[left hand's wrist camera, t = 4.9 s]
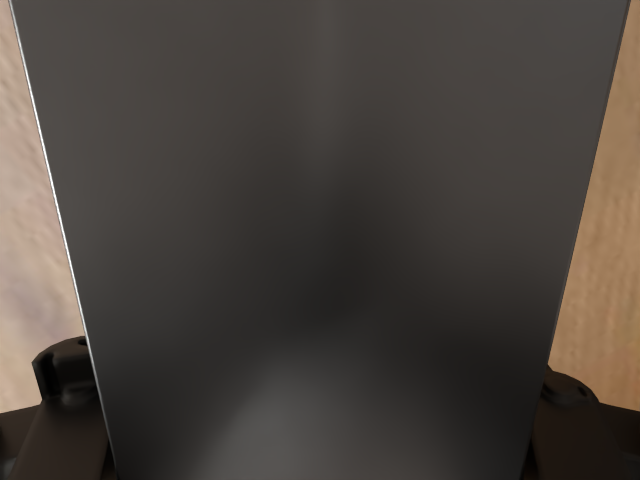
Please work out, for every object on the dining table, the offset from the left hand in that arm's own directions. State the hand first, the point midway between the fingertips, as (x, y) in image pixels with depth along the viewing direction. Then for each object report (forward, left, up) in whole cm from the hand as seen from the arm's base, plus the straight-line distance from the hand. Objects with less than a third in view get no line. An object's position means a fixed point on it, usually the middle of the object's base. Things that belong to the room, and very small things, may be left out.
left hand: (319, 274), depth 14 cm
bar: (+7, 0, -1) cm, 7 cm away
